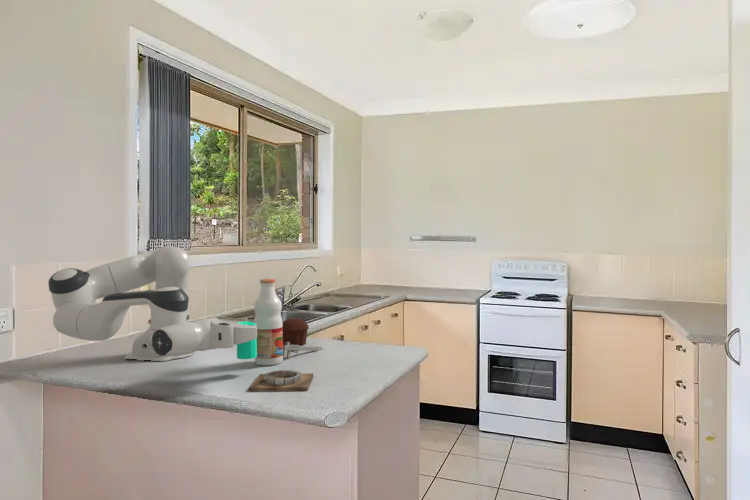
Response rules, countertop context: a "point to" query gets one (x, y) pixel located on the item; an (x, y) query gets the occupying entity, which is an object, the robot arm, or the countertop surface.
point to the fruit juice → (268, 325)
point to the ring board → (299, 386)
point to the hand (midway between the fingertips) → (249, 326)
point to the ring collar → (271, 380)
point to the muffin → (295, 331)
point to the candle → (247, 346)
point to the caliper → (297, 349)
